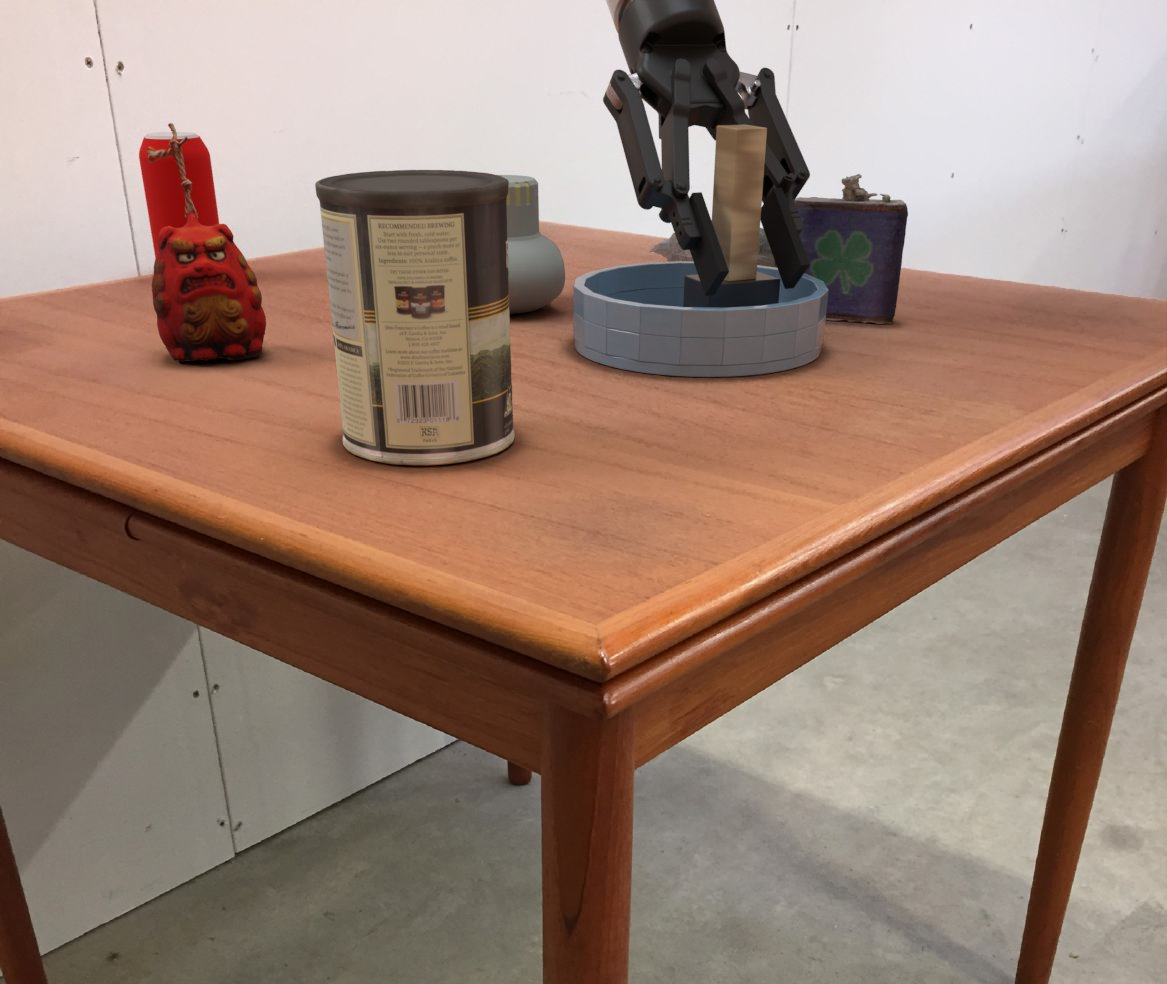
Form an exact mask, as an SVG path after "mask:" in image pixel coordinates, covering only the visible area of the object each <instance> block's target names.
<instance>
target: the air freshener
mask: <svg viewBox="0 0 1167 984" xmlns="http://www.w3.org/2000/svg"><path fill="white" fill-rule="evenodd" d="M498 175H499V176H502V177H504V178H506V179H507V180H508V182H509V189H508V195H507V242H508V271H509V276H508V281H509V315H513V314H515V315H516V314H523V313H530V312H535V311H537V310H539V309H541V308H544V307H545V306H547V305H548V304H550V303H552V302H553V301H555V299H557V298H558V297H559V296H560V295H561V294H562V293H563V290H564V288H565V283H566V267H565V261H564V258H563V255H562V253H561V250H560V249H559V247H558V245H557V243H556V242H554V241H553V240H552V239H551V238H549V237H547V236H546V235H544V234H542V233H541V232H540V209H539V208H540V206H539V205H540V204H539V202H540V201H539V199H540V198H539V182H538V181H537V180H536V179H535V178H534V177H532V176H528V175H527V176H526V175H518V174H515V175H514V174H498Z"/></svg>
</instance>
